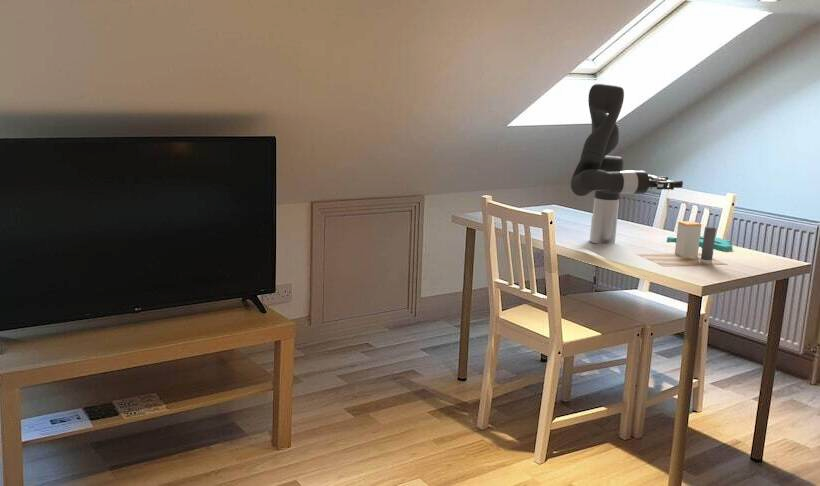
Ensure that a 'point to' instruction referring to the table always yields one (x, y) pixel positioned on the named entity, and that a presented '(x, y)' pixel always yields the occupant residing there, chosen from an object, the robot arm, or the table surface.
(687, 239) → the white orange-topped block
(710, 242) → the dark grey tall block
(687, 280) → the table surface
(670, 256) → the subfloor panel
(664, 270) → the table surface
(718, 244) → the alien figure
